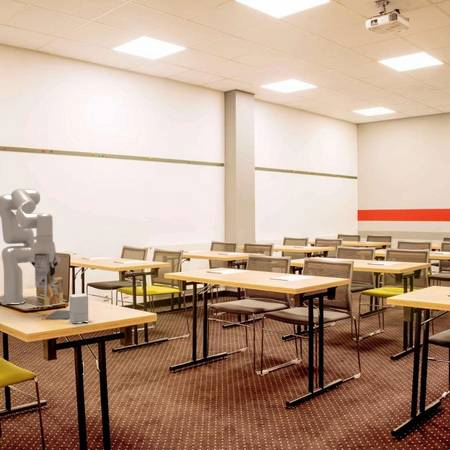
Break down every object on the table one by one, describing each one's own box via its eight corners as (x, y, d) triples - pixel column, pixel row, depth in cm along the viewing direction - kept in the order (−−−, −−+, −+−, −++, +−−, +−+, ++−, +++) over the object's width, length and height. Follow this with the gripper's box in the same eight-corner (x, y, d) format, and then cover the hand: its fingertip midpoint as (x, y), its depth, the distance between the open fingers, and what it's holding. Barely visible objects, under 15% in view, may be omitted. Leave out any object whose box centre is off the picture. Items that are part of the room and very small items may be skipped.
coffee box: (42, 284, 257) (42, 252, 256) (55, 284, 257) (54, 252, 256) (34, 286, 248) (34, 253, 247) (47, 287, 247) (47, 253, 247)
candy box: (60, 305, 278) (60, 277, 278) (63, 306, 275) (63, 278, 275) (44, 307, 273) (43, 278, 272) (46, 308, 270) (46, 279, 269)
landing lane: (41, 319, 244) (41, 318, 244) (53, 311, 262) (53, 310, 262) (68, 319, 244) (68, 318, 244) (78, 311, 262) (78, 310, 262)
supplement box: (85, 319, 244) (85, 293, 244) (88, 322, 238) (88, 295, 237) (69, 321, 241) (69, 294, 240) (72, 324, 234) (72, 296, 234)
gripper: (24, 239, 248) (24, 276, 248) (59, 239, 248) (60, 276, 248) (30, 238, 255) (30, 274, 256) (64, 238, 255) (65, 274, 256)
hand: (45, 275), depth 252 cm, fingers closed on coffee box, 6 cm apart
